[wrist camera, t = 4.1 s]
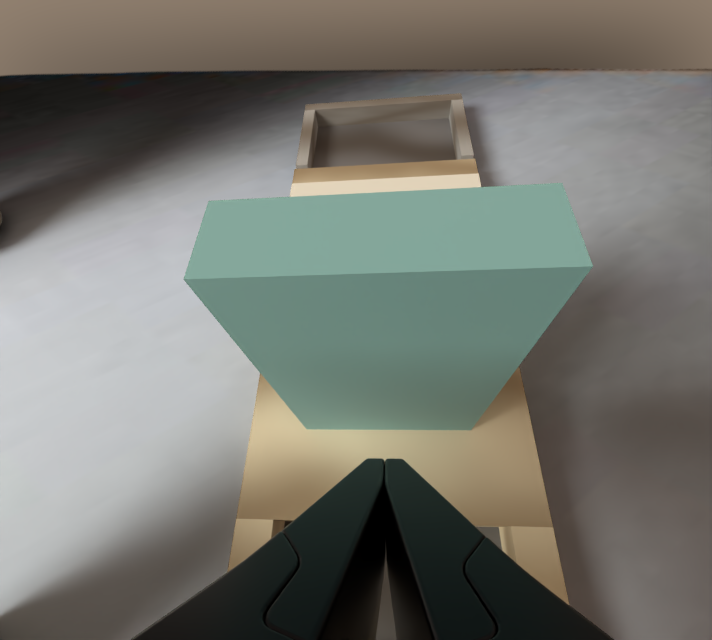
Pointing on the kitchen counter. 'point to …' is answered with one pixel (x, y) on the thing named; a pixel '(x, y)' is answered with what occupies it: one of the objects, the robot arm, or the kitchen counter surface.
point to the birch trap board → (417, 447)
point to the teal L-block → (389, 296)
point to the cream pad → (386, 185)
